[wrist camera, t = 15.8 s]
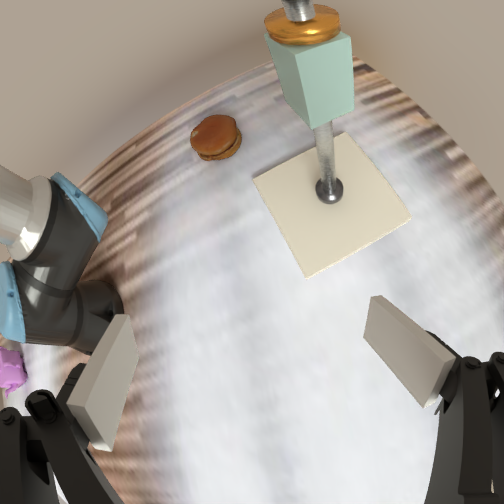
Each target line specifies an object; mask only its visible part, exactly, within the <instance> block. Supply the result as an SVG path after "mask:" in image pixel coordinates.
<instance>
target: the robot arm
mask: <svg viewBox="0 0 504 504" xmlns="http://www.w3.org/2000/svg"><path fill="white" fill-rule="evenodd" d="M107 223H108V217H107V214H106V212H105V211H104V210H103V209H102V208H101V207H99V206H98V205H97V204H96V203H95V202H94V201H92V200H91V199H90V198H89V197H88V196H86V195H85V194H84V193H83V192H81V191H80V190H79V189H78V188H77V187H76V186H75V185H74V184H72V183H71V182H70V181H69V180H68V179H67V178H65V177H64V176H63V175H62V174H61V173H59V172H57V173H55V174H54V175H53V176H52V177H51V179H50V180H49V179H48V178H46V177H44V176H36V177H34V178H32V179H30V180H28V181H27V180H26V179H24V178H22V177H20V176H18V175H17V174H15V173H13V172H11V171H9V170H8V169H6V168H4V167H3V166H1V165H0V243H2V244H5V245H6V247H7V250H8V252H9V254H10V256H11V258H13V261H12V263H10V262H9V261H6V262H2V263H1V264H0V333H1V334H2V335H3V336H4V337H5V338H7V339H9V340H13V341H18V342H21V343H29V344H41V345H56V346H69V347H71V348H73V349H75V350H77V351H79V352H82V353H84V354H86V355H89V356H91V357H90V359H89V361H88V363H87V364H84V363H79V364H78V365H77V366H76V367H74V368H73V369H72V371H71V372H70V374H69V376H68V379H66V381H65V383H64V385H63V386H62V388H61V390H60V392H59V394H58V395H57V397H56V399H55V397H54V395H53V394H52V392H50V391H48V390H43V389H41V390H36V391H34V392H32V393H31V394H30V395H29V396H28V397H27V399H26V401H25V407H26V408H27V410H28V412H29V413H30V415H31V416H21V414H20V413H19V411H18V410H17V409H16V408H14V407H7V408H4V409H3V410H1V411H0V504H59V500H58V495H57V490H56V486H55V480H54V475H53V472H54V474H55V476H56V479H57V481H58V483H59V485H60V487H61V489H62V491H63V493H64V495H65V497H66V499H67V501H68V503H69V504H124V503H123V501H122V500H121V499H120V497H119V496H118V494H117V493H116V492H115V490H114V489H113V487H112V486H111V484H110V483H109V482H108V480H107V479H106V477H105V475H104V474H103V472H102V471H101V469H100V468H99V466H98V464H97V463H96V461H95V459H94V458H93V456H92V454H91V452H90V451H89V450H88V448H87V447H88V444H89V441H90V442H91V444H92V445H93V446H94V448H95V449H100V450H105V451H111V452H112V449H113V445H114V441H115V437H116V433H117V429H118V426H119V422H120V418H121V415H122V411H123V408H124V405H125V401H126V398H127V395H128V391H129V388H130V385H131V382H132V379H133V375H134V372H135V369H136V366H137V363H138V360H139V353H138V349H137V346H136V342H135V338H134V334H133V330H132V326H131V321H130V317H129V314H124V312H123V306H122V302H121V299H120V297H119V295H118V293H117V291H116V290H115V289H114V288H113V287H112V286H111V285H110V284H108V283H106V282H103V281H99V280H89V281H80V282H78V281H79V279H80V277H81V275H82V273H83V271H84V269H85V267H86V265H87V263H88V261H89V260H90V258H91V256H92V254H93V252H94V250H95V249H96V247H97V245H98V243H99V242H100V241H101V236H102V234H103V232H104V230H105V228H106V226H107ZM363 338H364V339H365V340H366V341H367V342H368V343H369V345H370V346H371V347H372V348H373V349H374V350H375V352H376V353H377V354H378V355H379V356H380V358H381V359H382V360H383V361H384V362H385V363H386V365H387V366H388V367H389V368H390V369H391V371H392V372H393V373H394V374H395V375H396V377H397V378H398V379H399V380H400V381H401V383H402V384H403V385H404V386H405V387H406V389H407V390H408V391H409V392H410V393H411V395H412V396H413V397H414V398H415V399H416V401H417V402H418V403H419V404H420V406H421V407H422V408H425V407H428V406H430V405H432V404H434V403H435V401H436V399H437V397H438V395H439V394H440V395H441V396H442V397H443V398H442V400H441V402H440V404H439V406H438V408H437V409H436V411H435V414H434V415H436V414H437V413H438V411H439V410H440V414H439V415H440V416H439V427H438V436H437V444H436V451H435V457H434V463H433V468H432V473H431V478H430V483H429V487H428V491H427V495H426V499H425V503H424V504H504V353H502V352H494V353H493V354H492V355H491V358H490V360H489V361H488V362H483V363H482V362H481V361H480V360H478V359H477V358H475V357H471V356H466V357H463V358H462V357H461V356H460V355H458V354H457V353H456V352H455V351H454V350H453V349H451V348H450V347H449V346H448V345H447V344H446V345H445V343H444V342H443V341H442V340H441V339H440V338H438V337H437V336H436V335H435V334H433V333H431V332H429V331H425V330H424V329H422V328H421V327H420V326H419V325H418V324H416V323H415V322H414V321H413V320H412V319H410V318H409V317H408V316H407V315H405V314H404V313H403V312H402V311H401V310H399V309H398V308H397V307H396V306H394V305H393V304H392V303H391V302H389V301H388V300H387V299H386V298H384V297H383V296H382V295H380V296H373V297H371V299H370V305H369V310H368V316H367V321H366V326H365V331H364V336H363ZM498 389H499V391H500V394H499V395H498V397H497V398H496V397H495V393H496V391H497V390H498ZM492 480H493V487H494V493H492V492H491V484H492Z"/></svg>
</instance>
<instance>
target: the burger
mask: <svg viewBox="0 0 504 504" xmlns="http://www.w3.org/2000/svg"><path fill="white" fill-rule="evenodd" d="M241 139H242V137H241V133H240V131H239V129H238V128H237V127H236V121H235V119H234V118H232V117H230V116H226V115H212V116H209V117H207V118H205V119H204V120H203V121H202V122H201V123H200V124H199V125H198V126H196V127H195V128H194V129H193V131H192V132H191V138H190V142H191V146H192V148H193V149H194V150H195V151H197V153H198V155H199V156H200V158H202V159H203V160H206V161H210V160H221V159H224V158H228V157H230V156H232V155H233V154H234V153H235V152H236V151H237V149H238V148H239V147H240V144H241Z"/></svg>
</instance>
